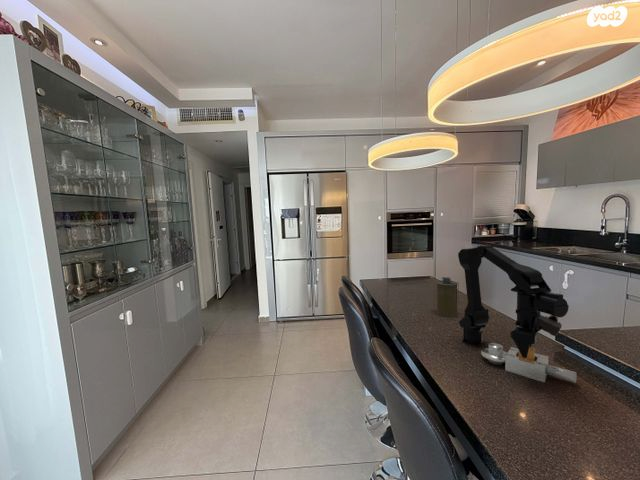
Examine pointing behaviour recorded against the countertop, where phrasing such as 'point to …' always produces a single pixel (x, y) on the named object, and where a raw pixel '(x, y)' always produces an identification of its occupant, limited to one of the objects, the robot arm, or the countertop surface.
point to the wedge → (529, 354)
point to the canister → (447, 297)
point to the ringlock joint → (525, 364)
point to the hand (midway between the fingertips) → (526, 352)
